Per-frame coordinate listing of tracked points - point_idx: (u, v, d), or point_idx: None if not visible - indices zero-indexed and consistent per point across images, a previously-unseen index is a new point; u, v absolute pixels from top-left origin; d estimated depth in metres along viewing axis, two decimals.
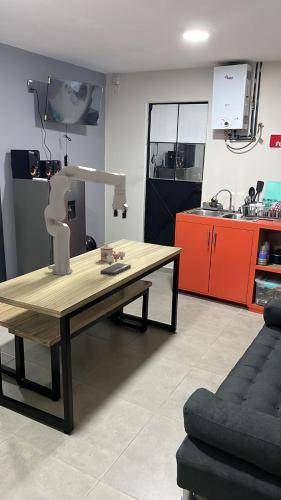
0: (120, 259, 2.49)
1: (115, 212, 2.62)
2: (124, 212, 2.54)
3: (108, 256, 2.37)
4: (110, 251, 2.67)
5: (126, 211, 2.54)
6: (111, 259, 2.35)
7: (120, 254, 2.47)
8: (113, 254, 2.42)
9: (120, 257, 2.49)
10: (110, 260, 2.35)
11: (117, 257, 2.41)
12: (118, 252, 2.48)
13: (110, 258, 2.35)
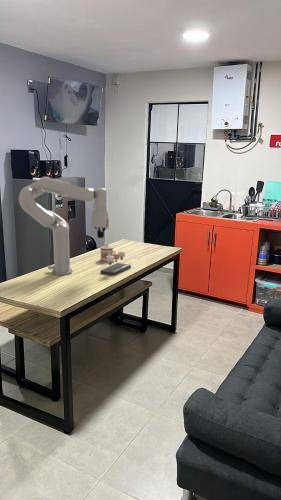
0: (120, 259, 2.49)
1: (99, 232, 2.37)
2: (102, 231, 2.36)
3: (108, 256, 2.37)
4: (110, 251, 2.67)
5: (104, 230, 2.36)
6: (111, 259, 2.35)
7: (120, 254, 2.47)
8: (113, 254, 2.42)
9: (120, 257, 2.49)
10: (110, 260, 2.35)
11: (117, 257, 2.41)
12: (118, 252, 2.48)
13: (110, 258, 2.35)
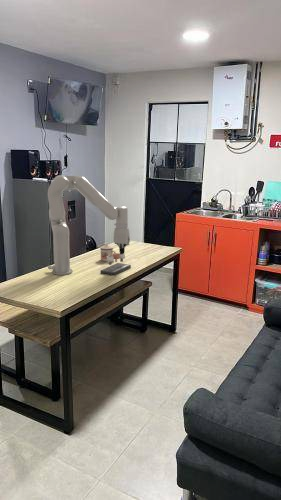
0: (120, 261, 2.50)
1: None
2: (123, 247, 2.47)
3: (108, 256, 2.37)
4: (110, 251, 2.67)
5: (125, 246, 2.47)
6: (111, 259, 2.35)
7: (120, 256, 2.47)
8: (113, 254, 2.42)
9: (120, 259, 2.49)
10: (110, 260, 2.35)
11: (117, 257, 2.41)
12: None
13: (110, 258, 2.35)
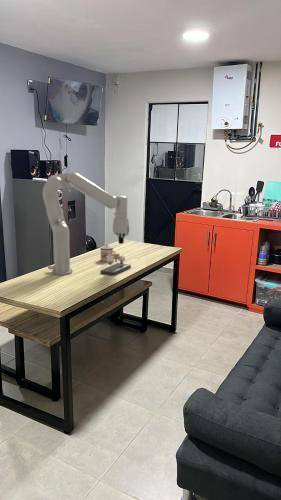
0: (120, 263, 2.50)
1: None
2: (122, 237, 2.44)
3: (108, 256, 2.37)
4: (110, 251, 2.67)
5: (124, 236, 2.45)
6: (111, 259, 2.35)
7: (120, 258, 2.48)
8: (113, 254, 2.42)
9: (120, 261, 2.50)
10: (110, 260, 2.35)
11: (117, 257, 2.41)
12: None
13: (110, 258, 2.35)
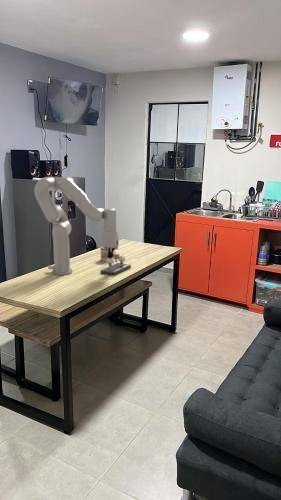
0: (120, 263, 2.50)
1: None
2: (112, 251, 2.34)
3: (108, 258, 2.37)
4: None
5: None
6: (111, 261, 2.35)
7: (120, 258, 2.48)
8: (113, 254, 2.42)
9: (120, 261, 2.50)
10: (110, 262, 2.35)
11: (117, 257, 2.41)
12: None
13: (110, 260, 2.35)
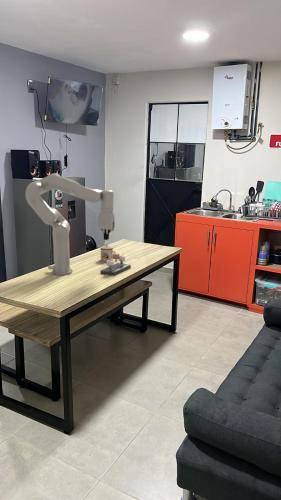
0: (120, 263, 2.50)
1: None
2: (108, 233, 2.35)
3: (108, 261, 2.37)
4: (110, 251, 2.67)
5: (109, 232, 2.35)
6: (111, 264, 2.36)
7: (120, 258, 2.48)
8: (113, 254, 2.42)
9: (120, 261, 2.50)
10: (110, 265, 2.36)
11: (117, 257, 2.41)
12: None
13: (110, 263, 2.35)
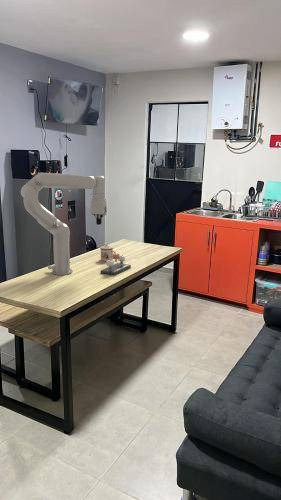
0: (120, 263, 2.50)
1: None
2: (100, 218, 2.42)
3: (108, 261, 2.37)
4: (110, 251, 2.67)
5: None
6: (111, 264, 2.36)
7: (120, 258, 2.48)
8: (113, 254, 2.42)
9: (120, 261, 2.50)
10: (110, 265, 2.36)
11: (117, 257, 2.41)
12: None
13: (110, 263, 2.35)
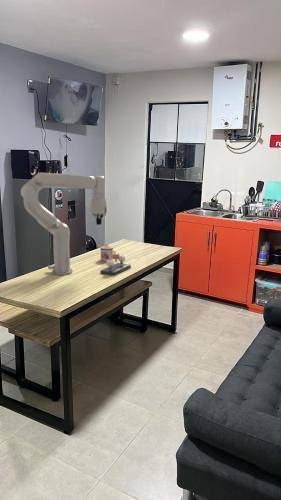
0: (120, 263, 2.50)
1: None
2: (100, 218, 2.42)
3: (108, 261, 2.37)
4: (110, 251, 2.67)
5: None
6: (111, 264, 2.36)
7: (120, 258, 2.48)
8: (113, 254, 2.42)
9: (120, 261, 2.50)
10: (110, 265, 2.36)
11: (117, 257, 2.41)
12: None
13: (110, 263, 2.35)
